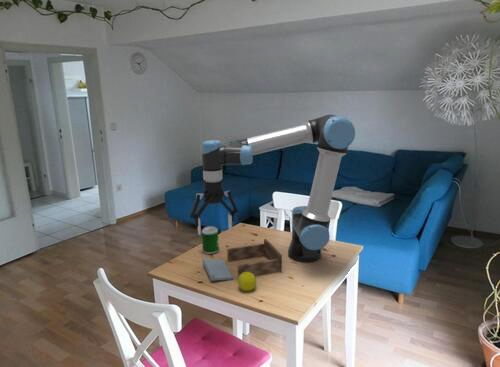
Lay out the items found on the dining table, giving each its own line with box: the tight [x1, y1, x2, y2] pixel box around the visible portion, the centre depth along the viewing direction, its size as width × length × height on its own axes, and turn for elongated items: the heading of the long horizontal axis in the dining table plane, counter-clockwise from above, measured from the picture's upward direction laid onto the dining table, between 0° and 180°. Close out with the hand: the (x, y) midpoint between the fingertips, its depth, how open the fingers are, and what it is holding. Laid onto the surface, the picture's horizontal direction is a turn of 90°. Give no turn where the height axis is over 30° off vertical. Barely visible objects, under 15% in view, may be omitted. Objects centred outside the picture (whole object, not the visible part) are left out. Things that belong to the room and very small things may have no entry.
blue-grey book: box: [202, 257, 234, 281], centre depth 154 cm, size 2×17×9 cm
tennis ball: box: [237, 272, 257, 292], centre depth 140 cm, size 7×7×7 cm
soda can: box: [201, 225, 220, 255], centre depth 173 cm, size 8×8×12 cm
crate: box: [226, 238, 283, 279], centre depth 158 cm, size 19×18×8 cm
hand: (215, 231), depth 150 cm, fingers open, 12 cm apart
